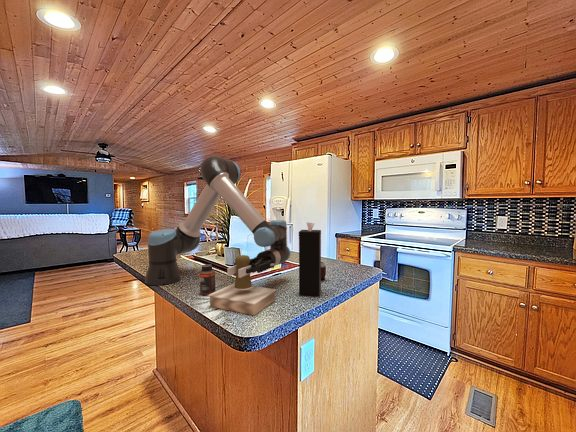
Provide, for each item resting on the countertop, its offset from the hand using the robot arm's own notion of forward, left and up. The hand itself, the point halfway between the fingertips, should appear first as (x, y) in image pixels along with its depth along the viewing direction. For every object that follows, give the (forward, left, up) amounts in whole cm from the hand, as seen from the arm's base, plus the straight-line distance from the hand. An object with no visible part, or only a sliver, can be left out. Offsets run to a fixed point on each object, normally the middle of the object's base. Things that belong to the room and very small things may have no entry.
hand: (233, 272), depth 88 cm
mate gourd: (+15, +43, -13) cm, 48 cm away
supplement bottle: (-19, +8, -13) cm, 24 cm away
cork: (0, +5, -6) cm, 8 cm away
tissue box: (+18, +25, -12) cm, 34 cm away
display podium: (0, +5, -12) cm, 13 cm away
